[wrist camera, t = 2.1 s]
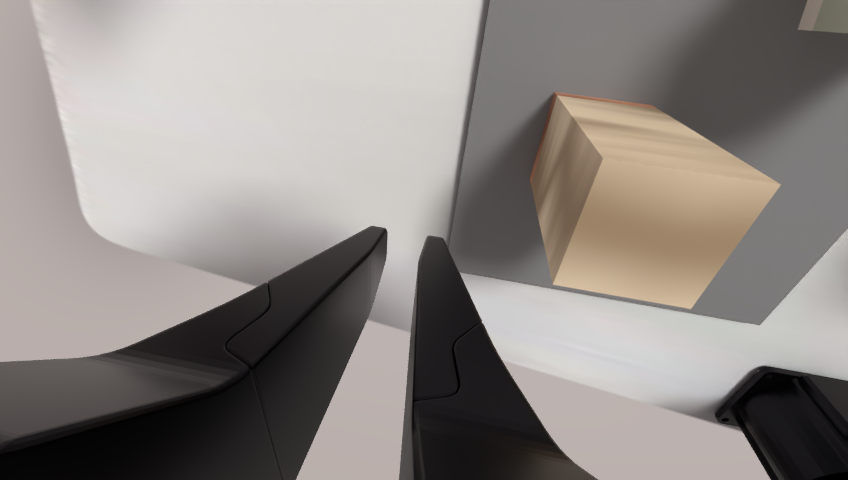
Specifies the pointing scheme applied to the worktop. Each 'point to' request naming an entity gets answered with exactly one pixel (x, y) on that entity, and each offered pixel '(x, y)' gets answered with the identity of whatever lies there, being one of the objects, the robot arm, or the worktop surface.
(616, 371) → the worktop surface
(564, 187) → the beech block
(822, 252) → the mat
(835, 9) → the sage block
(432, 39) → the worktop surface
